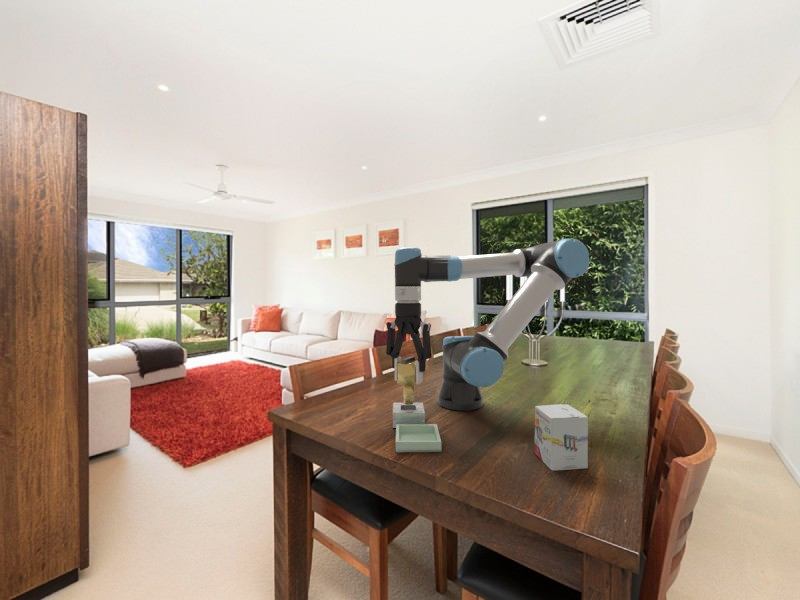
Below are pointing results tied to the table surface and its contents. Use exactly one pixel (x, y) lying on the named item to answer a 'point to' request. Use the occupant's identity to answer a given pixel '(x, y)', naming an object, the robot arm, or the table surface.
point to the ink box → (561, 437)
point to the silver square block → (408, 414)
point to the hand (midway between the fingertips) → (408, 381)
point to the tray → (417, 438)
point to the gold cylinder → (407, 378)
